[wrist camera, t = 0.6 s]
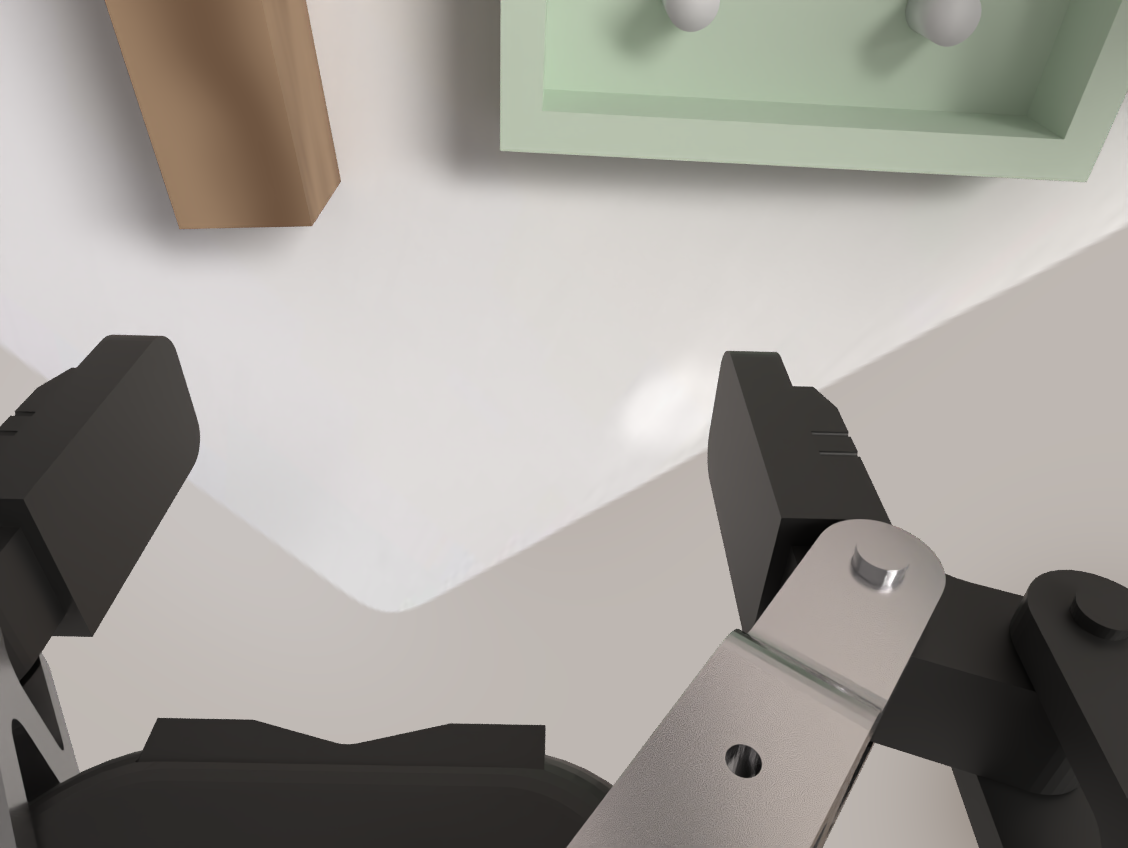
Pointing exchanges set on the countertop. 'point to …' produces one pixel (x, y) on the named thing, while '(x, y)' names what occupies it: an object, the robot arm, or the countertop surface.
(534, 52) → the pale green tray
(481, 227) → the countertop surface
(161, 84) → the walnut plank
